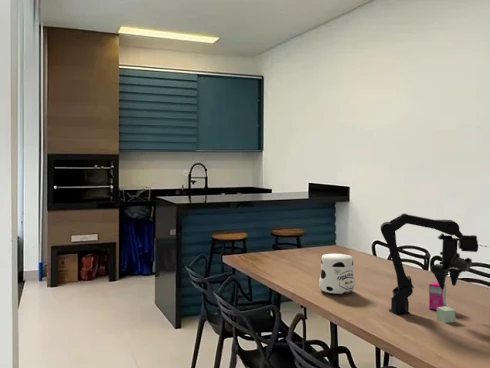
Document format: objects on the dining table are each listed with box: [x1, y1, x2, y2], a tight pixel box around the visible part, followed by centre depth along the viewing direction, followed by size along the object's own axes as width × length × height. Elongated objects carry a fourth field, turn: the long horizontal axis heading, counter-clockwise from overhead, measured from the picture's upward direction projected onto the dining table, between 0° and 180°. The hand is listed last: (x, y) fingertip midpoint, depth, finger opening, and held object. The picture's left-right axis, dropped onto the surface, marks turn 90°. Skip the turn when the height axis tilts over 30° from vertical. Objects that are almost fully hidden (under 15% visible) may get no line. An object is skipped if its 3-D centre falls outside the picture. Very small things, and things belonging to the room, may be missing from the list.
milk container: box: [318, 253, 356, 296], centre depth 228 cm, size 17×17×18 cm
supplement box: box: [428, 281, 447, 312], centre depth 203 cm, size 6×6×12 cm
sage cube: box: [436, 305, 456, 324], centre depth 189 cm, size 5×5×5 cm
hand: (448, 287), depth 193 cm, fingers open, 9 cm apart
